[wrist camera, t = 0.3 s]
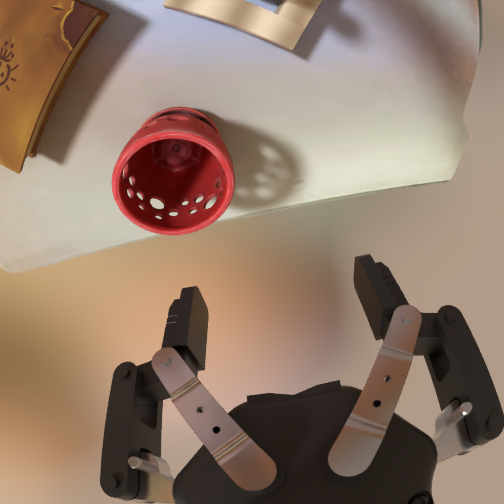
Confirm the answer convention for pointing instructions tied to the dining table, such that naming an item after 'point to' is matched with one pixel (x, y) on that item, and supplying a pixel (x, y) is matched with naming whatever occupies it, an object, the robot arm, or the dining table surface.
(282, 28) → the birch holder block
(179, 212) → the plant pot
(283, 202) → the dining table surface
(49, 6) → the diary
